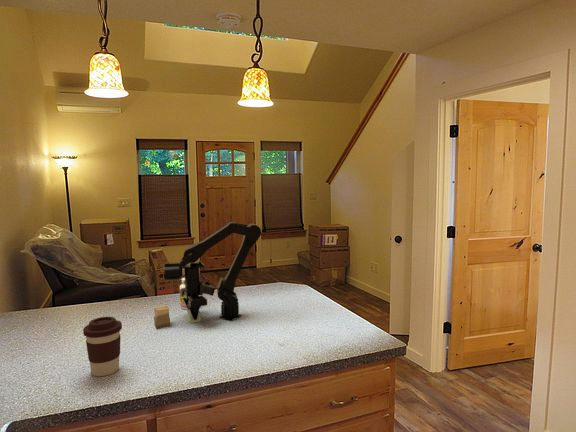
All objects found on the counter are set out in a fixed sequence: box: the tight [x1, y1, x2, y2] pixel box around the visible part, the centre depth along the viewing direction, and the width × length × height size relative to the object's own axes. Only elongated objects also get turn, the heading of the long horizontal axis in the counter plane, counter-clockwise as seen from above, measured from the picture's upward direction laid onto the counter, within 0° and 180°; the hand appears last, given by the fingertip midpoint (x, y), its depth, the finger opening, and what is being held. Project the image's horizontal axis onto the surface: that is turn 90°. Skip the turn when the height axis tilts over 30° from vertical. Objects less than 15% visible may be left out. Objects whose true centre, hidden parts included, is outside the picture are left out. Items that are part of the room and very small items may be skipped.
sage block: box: [186, 310, 201, 324], centre depth 150 cm, size 4×4×4 cm
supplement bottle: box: [179, 277, 188, 311], centre depth 166 cm, size 7×7×13 cm
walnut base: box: [153, 315, 171, 330], centre depth 146 cm, size 5×5×4 cm
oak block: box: [153, 304, 170, 320], centre depth 145 cm, size 4×4×4 cm
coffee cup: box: [82, 316, 123, 377], centre depth 110 cm, size 10×10×15 cm
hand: (193, 318), depth 151 cm, fingers closed on sage block, 4 cm apart
